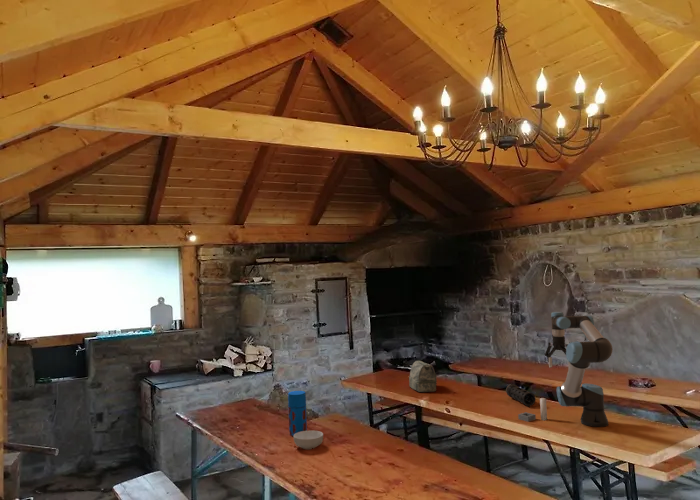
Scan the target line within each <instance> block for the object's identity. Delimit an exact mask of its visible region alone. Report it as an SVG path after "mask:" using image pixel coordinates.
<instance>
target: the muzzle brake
mask: <svg viewBox="0 0 700 500" xmlns="http://www.w3.org/2000/svg"><path fill="white" fill-rule="evenodd" d="M505 391H506V395H507V396H508V397H510V398H511V399H514V401H516V402H520V404H522V403H523V405H524V406H526V407H528V408H530V407H531V406H533V405H535V403H536V400H537V399H536V395H535V394H533V393H532V392H530V391H528V390H526V389H524V388H522V387H520V386H518V385H516V384H509V385H507V387H506V389H505Z"/></svg>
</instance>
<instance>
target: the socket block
mask: <svg viewBox="0 0 700 500" xmlns="http://www.w3.org/2000/svg"><path fill="white" fill-rule="evenodd" d="M517 417H518V420H521V421H525V422H527V423H528V422H532V421H535V420H536V419H537V416H536V414H533V413H529V412H526V411H525V412H521V413H518V416H517Z"/></svg>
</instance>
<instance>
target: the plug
mask: <svg viewBox="0 0 700 500" xmlns="http://www.w3.org/2000/svg"><path fill="white" fill-rule="evenodd" d="M539 405H540V407H539V408H540V420H542V421H547V420H548V409H547V398H544V397H541V398H539Z"/></svg>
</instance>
